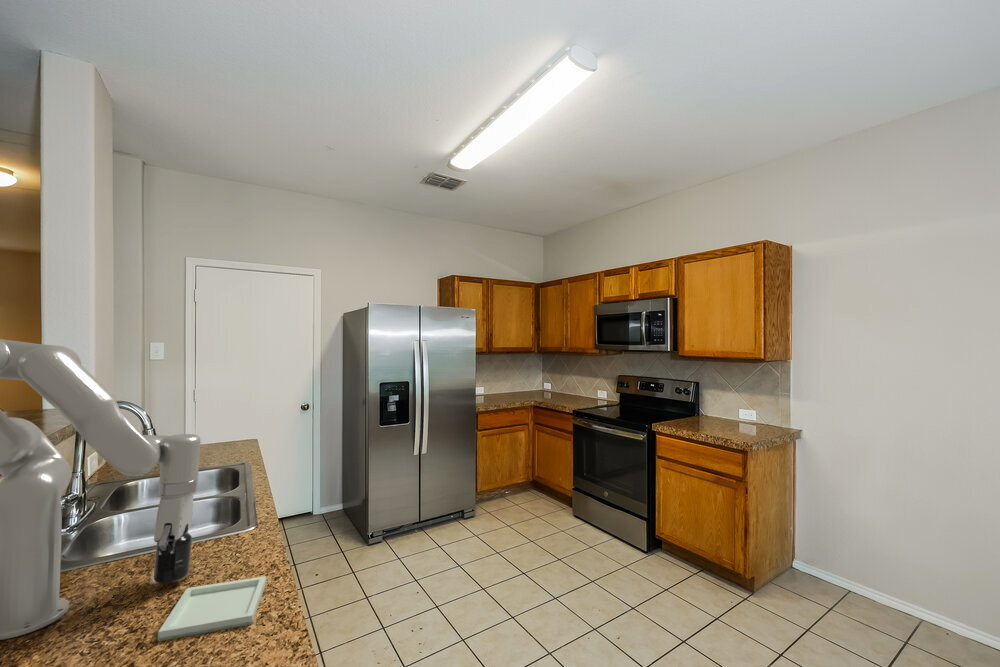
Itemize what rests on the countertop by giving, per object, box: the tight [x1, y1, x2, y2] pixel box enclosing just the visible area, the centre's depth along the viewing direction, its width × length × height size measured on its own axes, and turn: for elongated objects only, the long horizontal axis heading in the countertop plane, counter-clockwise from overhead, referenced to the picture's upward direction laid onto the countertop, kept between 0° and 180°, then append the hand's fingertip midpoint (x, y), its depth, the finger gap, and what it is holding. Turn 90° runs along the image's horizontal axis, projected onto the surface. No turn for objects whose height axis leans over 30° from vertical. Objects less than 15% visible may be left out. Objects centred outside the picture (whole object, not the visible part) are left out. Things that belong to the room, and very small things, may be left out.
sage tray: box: [157, 575, 267, 642], centre depth 93 cm, size 16×16×2 cm
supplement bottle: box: [153, 524, 193, 584], centre depth 103 cm, size 7×7×12 cm
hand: (172, 562), depth 103 cm, fingers closed on supplement bottle, 6 cm apart
